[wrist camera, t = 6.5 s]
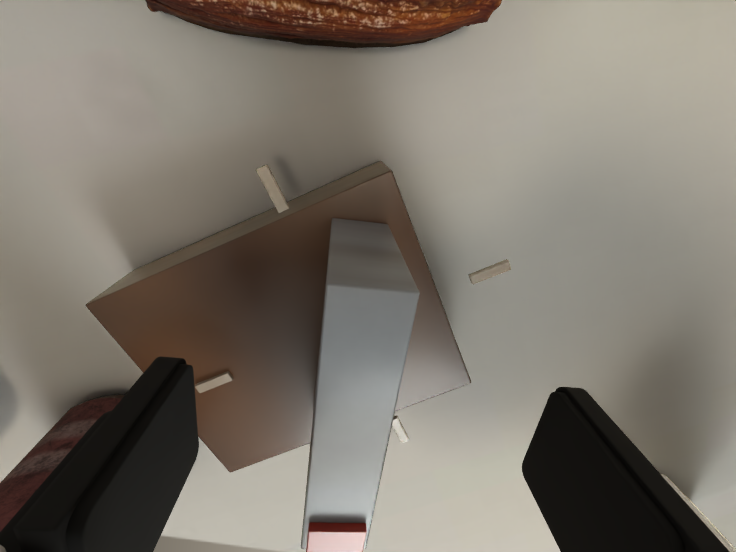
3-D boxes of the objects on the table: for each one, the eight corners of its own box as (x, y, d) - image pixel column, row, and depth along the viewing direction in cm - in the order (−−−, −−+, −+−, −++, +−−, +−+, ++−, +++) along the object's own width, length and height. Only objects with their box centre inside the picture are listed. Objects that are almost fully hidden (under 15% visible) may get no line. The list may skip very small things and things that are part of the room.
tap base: (432, 86, 13) (459, 76, 10) (510, 347, 17) (544, 391, 15) (106, 236, 14) (44, 265, 11) (262, 440, 19) (248, 498, 16)
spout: (331, 217, 11) (326, 289, 6) (388, 223, 11) (423, 298, 7) (313, 412, 14) (299, 560, 9) (357, 414, 14) (366, 559, 10)
